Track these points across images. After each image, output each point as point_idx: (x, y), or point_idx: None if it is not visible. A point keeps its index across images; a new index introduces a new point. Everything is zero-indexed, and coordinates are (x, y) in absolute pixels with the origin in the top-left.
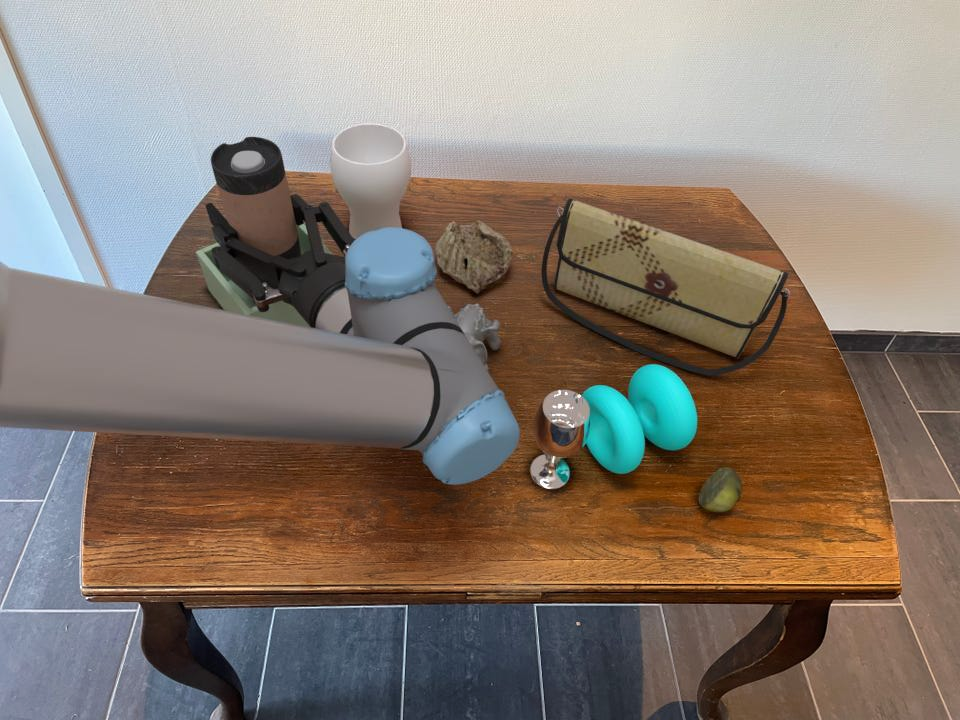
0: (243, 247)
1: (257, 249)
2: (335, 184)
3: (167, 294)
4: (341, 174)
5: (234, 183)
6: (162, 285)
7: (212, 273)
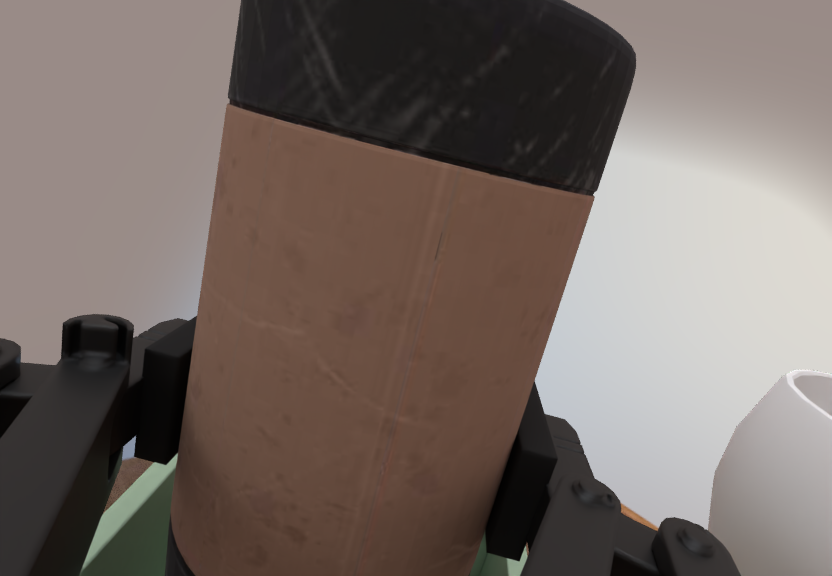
0: (53, 422)
1: (60, 487)
2: (722, 513)
3: (116, 487)
4: (791, 485)
5: (252, 14)
6: (143, 464)
7: (123, 496)
